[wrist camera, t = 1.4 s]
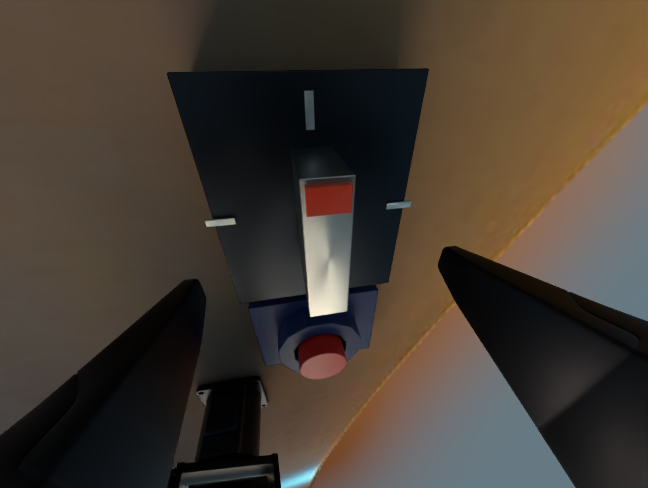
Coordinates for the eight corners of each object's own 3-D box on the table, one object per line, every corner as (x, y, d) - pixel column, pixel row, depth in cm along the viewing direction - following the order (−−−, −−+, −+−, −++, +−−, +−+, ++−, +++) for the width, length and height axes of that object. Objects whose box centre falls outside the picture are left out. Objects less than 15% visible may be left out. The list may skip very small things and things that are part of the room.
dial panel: (378, 256, 19) (394, 283, 16) (239, 273, 18) (234, 306, 15) (404, 70, 12) (439, 67, 10) (181, 73, 11) (153, 72, 8)
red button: (341, 354, 21) (346, 374, 19) (299, 361, 20) (301, 383, 19) (342, 328, 18) (348, 349, 17) (295, 336, 18) (297, 358, 17)
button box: (363, 332, 25) (375, 365, 22) (265, 349, 23) (264, 386, 21) (371, 275, 20) (387, 307, 17) (249, 291, 19) (245, 329, 16)
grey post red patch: (330, 259, 14) (349, 315, 11) (301, 263, 14) (310, 322, 11) (331, 145, 11) (358, 177, 7) (290, 148, 10) (299, 182, 7)
